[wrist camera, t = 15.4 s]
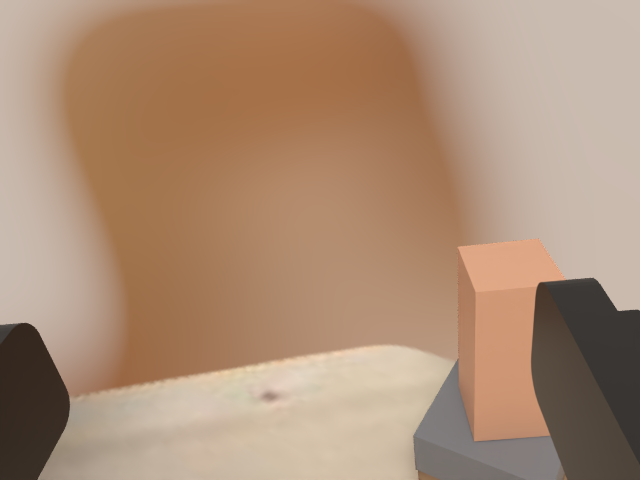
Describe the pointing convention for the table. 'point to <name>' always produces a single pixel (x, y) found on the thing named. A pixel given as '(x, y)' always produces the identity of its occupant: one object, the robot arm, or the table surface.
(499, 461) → the slab top
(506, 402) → the pillar
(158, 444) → the table surface
